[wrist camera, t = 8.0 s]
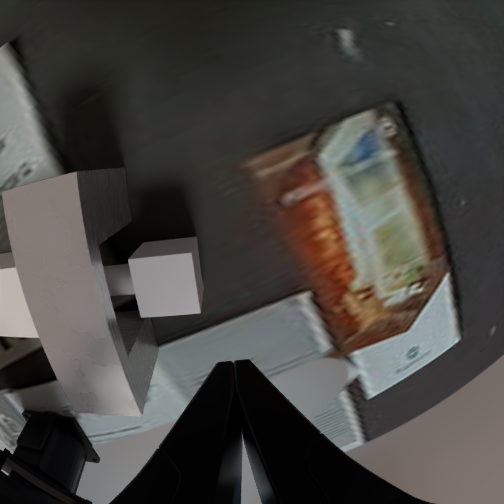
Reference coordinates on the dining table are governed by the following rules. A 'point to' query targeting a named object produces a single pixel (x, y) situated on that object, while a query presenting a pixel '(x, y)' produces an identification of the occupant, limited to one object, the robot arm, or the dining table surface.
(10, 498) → the robot arm
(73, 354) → the white block
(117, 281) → the plug
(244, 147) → the dining table surface
